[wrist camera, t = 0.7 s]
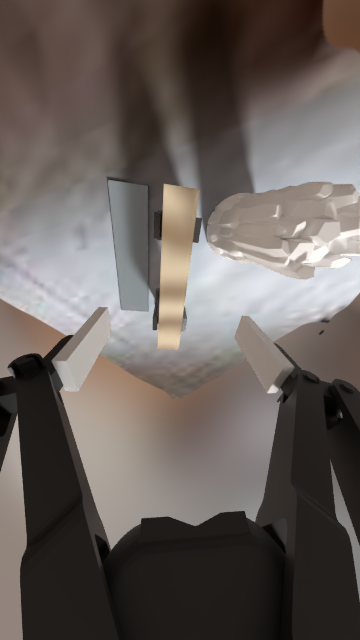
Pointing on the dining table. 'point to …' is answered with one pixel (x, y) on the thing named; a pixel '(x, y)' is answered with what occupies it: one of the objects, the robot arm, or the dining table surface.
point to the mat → (131, 242)
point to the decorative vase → (289, 228)
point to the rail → (175, 260)
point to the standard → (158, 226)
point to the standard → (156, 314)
